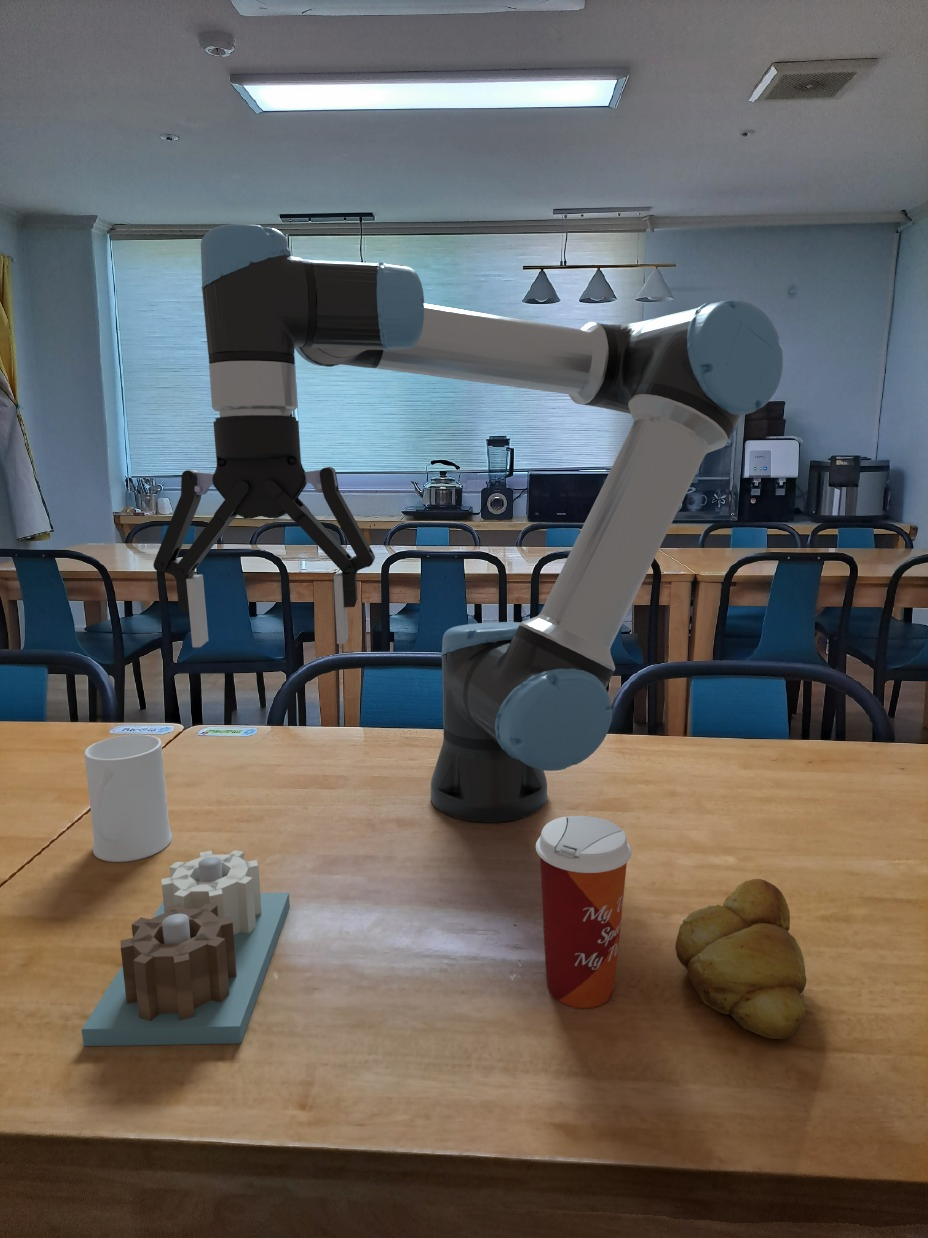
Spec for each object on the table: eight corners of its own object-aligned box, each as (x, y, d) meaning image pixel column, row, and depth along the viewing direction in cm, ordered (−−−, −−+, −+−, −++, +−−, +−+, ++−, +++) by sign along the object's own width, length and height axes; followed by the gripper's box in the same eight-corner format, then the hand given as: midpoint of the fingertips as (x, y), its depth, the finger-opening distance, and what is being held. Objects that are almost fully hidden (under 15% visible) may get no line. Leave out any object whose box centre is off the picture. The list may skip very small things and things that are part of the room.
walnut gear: (245, 954, 70) (241, 902, 69) (218, 1020, 62) (214, 962, 61) (150, 956, 70) (145, 904, 69) (111, 1022, 62) (104, 964, 61)
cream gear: (268, 896, 79) (265, 849, 78) (247, 947, 71) (244, 895, 70) (184, 897, 79) (180, 851, 78) (154, 948, 71) (148, 897, 70)
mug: (133, 880, 86) (122, 774, 83) (58, 875, 87) (46, 770, 84) (185, 829, 97) (177, 734, 95) (119, 825, 98) (109, 732, 96)
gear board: (289, 906, 80) (285, 836, 79) (241, 1043, 62) (234, 956, 60) (168, 908, 80) (162, 838, 79) (83, 1046, 62) (73, 958, 60)
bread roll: (830, 1055, 60) (839, 959, 59) (698, 1051, 61) (704, 956, 59) (773, 950, 73) (779, 869, 71) (664, 948, 73) (668, 867, 72)
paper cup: (605, 1031, 63) (610, 866, 60) (518, 996, 67) (519, 841, 64) (640, 976, 69) (646, 825, 66) (559, 948, 73) (561, 804, 70)
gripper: (395, 413, 77) (403, 630, 82) (132, 418, 76) (154, 636, 81) (391, 410, 70) (399, 648, 74) (99, 415, 69) (126, 655, 74)
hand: (271, 642), depth 78 cm, fingers open, 13 cm apart
